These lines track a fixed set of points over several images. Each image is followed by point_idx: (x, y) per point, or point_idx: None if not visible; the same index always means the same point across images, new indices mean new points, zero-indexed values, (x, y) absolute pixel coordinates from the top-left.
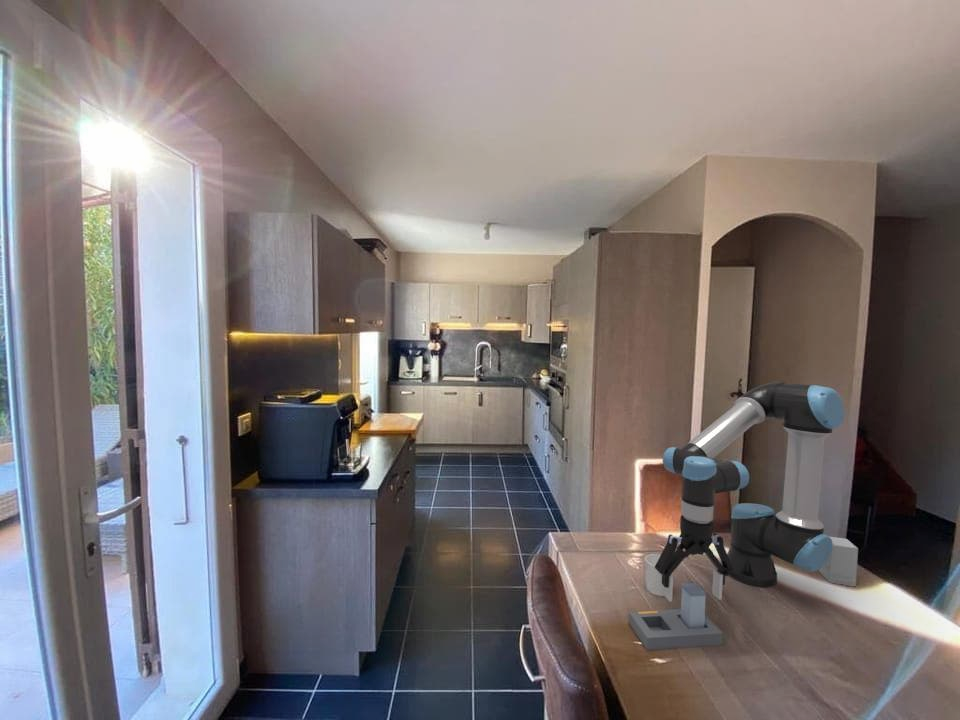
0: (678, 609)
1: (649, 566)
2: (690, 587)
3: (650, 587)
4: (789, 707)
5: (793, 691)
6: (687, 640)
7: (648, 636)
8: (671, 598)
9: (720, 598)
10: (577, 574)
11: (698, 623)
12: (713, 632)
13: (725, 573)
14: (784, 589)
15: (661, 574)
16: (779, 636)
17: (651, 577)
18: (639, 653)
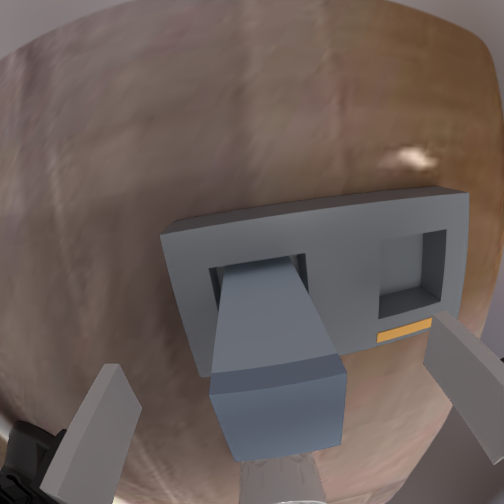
0: None
1: (324, 496)
2: (307, 426)
3: None
4: (112, 14)
5: (65, 70)
6: (324, 204)
7: (463, 200)
8: (446, 322)
9: (108, 367)
10: (424, 439)
11: (252, 278)
12: (200, 235)
13: (17, 491)
14: (4, 410)
15: (292, 481)
16: (12, 287)
17: (313, 468)
18: (451, 188)
